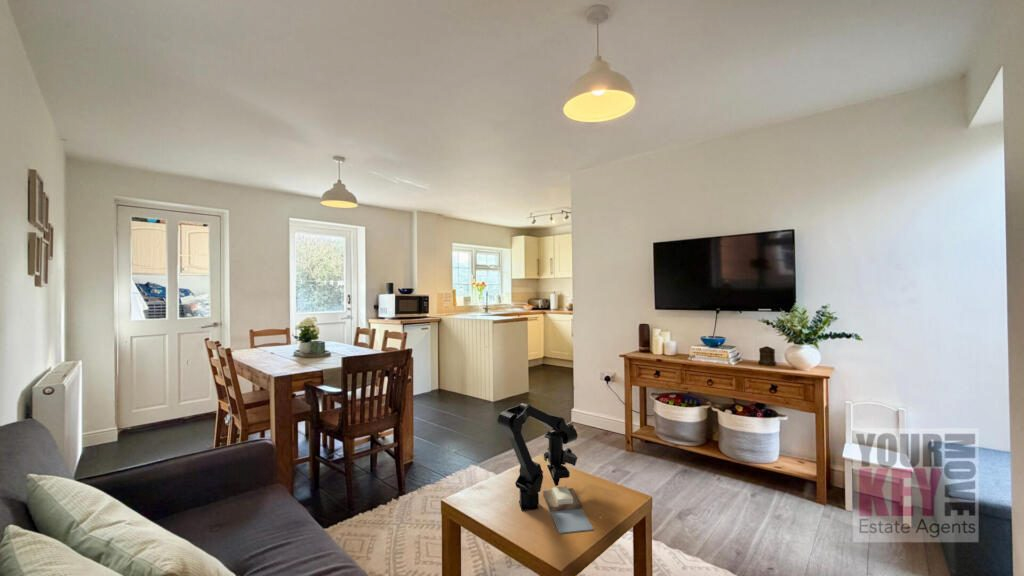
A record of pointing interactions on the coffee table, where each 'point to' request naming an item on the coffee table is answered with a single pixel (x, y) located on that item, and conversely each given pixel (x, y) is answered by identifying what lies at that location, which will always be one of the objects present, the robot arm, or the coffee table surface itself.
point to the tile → (562, 495)
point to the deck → (554, 507)
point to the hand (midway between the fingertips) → (556, 485)
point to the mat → (571, 521)
